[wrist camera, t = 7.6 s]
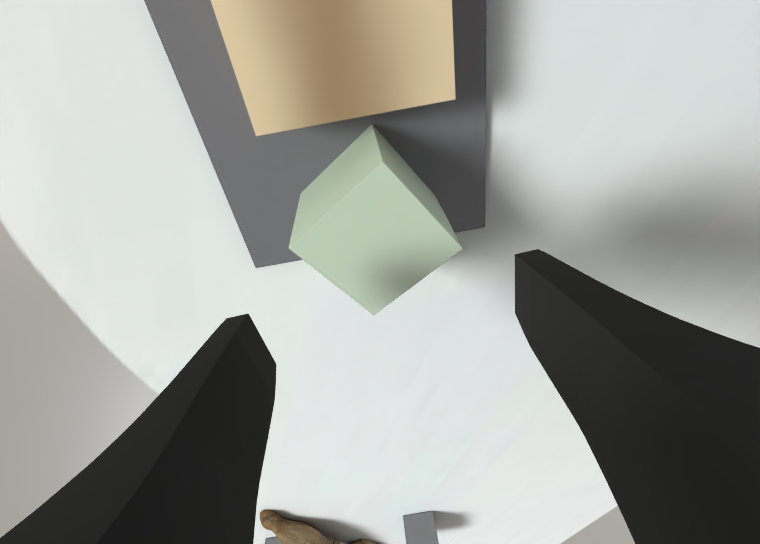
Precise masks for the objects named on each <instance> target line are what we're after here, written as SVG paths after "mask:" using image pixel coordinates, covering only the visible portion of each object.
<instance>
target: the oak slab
mask: <svg viewBox="0 0 760 544" xmlns="http://www.w3.org/2000/svg"><path fill="white" fill-rule="evenodd" d="M211 3H212V6H213V9H214V12H215V15H216V18H217V21H218V24H219V27H220V30H221V33H222V36H223V39H224V42H225V45H226V48H227V51H228V54H229V57H230V60H231V63H232V66H233V69H234V72H235V75H236V78H237V81H238V84H239V87H240V90H241V93H242V96H243V99H244V102H245V105H246V108H247V111H248V114H249V117H250V120H251V123H252V126H253V129H254V132H255V135H256V136H260V135H265V134H271V133H276V132H281V131H287V130H292V129H298V128H303V127H309V126H314V125H319V124H325V123H330V122H336V121H341V120H346V119H352V118H357V117H363V116H368V115H374V114H379V113H384V112H390V111H395V110H401V109H406V108H411V107H417V106H422V105H428V104H433V103H438V102H444V101H449V100H455V99H456V98H455V71H454V44H453V17H452V0H211Z"/></svg>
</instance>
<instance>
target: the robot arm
mask: <svg viewBox="0 0 760 544" xmlns="http://www.w3.org/2000/svg"><path fill="white" fill-rule="evenodd" d="M515 314H516V316H517V318H518V320H519V323H520V325H521V327H522V330H523V332H524V334H525V336H526V338H527V341H528V343H529V345H530V347H531V348H532V350H533V352H534V353H535V355H536V357H537V358H538V360H539V362H540V363H541V365H542V366H543V368H544V370H545V371H546V373H547V375H548V376H549V378H550V379H551V381H552V383H553V384H554V386H555V388H556V389H557V391H558V392H559V394H560V396H561V397H562V399H563V400H564V402H565V404H566V405H567V407H568V408H569V410H570V412H571V413H572V415H573V417H574V418H575V420H576V422H577V423H578V425H579V427H580V429H581V431H582V432H583V434H584V436H585V438H586V440H587V442H588V444H589V446H590V448H591V450H592V452H593V454H594V456H595V458H596V460H597V462H598V464H599V466H600V468H601V470H602V472H603V474H604V477H605V479H606V481H607V483H608V485H609V487H610V489H611V491H612V494H613V496H614V498H615V500H616V502H617V504H618V506H619V508H620V510H621V513H622V515H623V517H624V519H625V521H626V524H627V526H628V528H629V530H630V533H631V535H632V537H633V540H634V542H635V544H760V348H758V347H755V346H752V345H749V344H745V343H742V342H740V341H737V340H734V339H731V338H728V337H725V336H722V335H720V334H717V333H714V332H712V331H709V330H706V329H704V328H701V327H699V326H696V325H693V324H691V323H688V322H686V321H683V320H680V319H678V318H676V317H673V316H671V315H668V314H666V313H664V312H661V311H659V310H657V309H655V308H653V307H650V306H648V305H646V304H644V303H642V302H639V301H637V300H635V299H633V298H631V297H629V296H627V295H625V294H623V293H620V292H618V291H616V290H614V289H612V288H610V287H608V286H606V285H605V284H603V283H601V282H599V281H597V280H595V279H593V278H591V277H589V276H587V275H586V274H584V273H582V272H580V271H578V270H576V269H575V268H573V267H571V266H569V265H567V264H565V263H564V262H562V261H560V260H558V259H556V258H554V257H553V256H551V255H549V254H547V253H545V252H543V251H541V250H539V249H537V250H533V251H528V252H524V253H519V254H515ZM275 385H276V363H275V361H274V359H273V358H272V356H271V354H270V352H269V350H268V348H267V347H266V345H265V343H264V341H263V339H262V338H261V336H260V334H259V332H258V330H257V328H256V327H255V325H254V323H253V321H252V319H251V317H250V316H249V314H245V315H240V316H236V317H231V318H227V319H226V320H225V321H224V322H223V323H222V324H221V325H220V326H219V327H218V328H217V329H216V331H215V332H214V333H213V334H212V335H211V336H210V337H209V339H208V340H207V341H206V342H205V343H204V345H203V346H202V347H201V348H200V349H199V350H198V352H197V353H196V354H195V355H194V356H193V357H192V359H191V360H190V361H189V362H188V363H187V364H186V366H185V367H184V368H183V369H182V370H181V371H180V372H179V374H178V375H177V376H176V377H175V378H174V379H173V381H172V382H171V383H170V384H169V385H168V386H167V387H166V388H165V389H164V390H163V391H162V393H161V394H160V395H159V396H158V397H157V398H156V399H155V400H154V401H153V402H152V403H151V404H150V406H149V407H148V408H147V409H146V410H145V411H144V412H143V413H142V414H141V415H140V416H139V417H138V418H137V419H136V420H135V421H134V423H132V424H131V426H129V427H128V429H126V430H125V432H123V433H122V434H121V435H120V436H119V437H118V438H117V439H116V440H115V441H114V442H113V443H112V444H111V445H110V446H109V447H108V448H107V449H106V450H105V451H103V452H102V453H101V454H100V455H99V456H98V457H97V458H96V459H95V460H94V461H93V462H92V463H91V464H89V465H88V466H87V467H86V468H85V469H84V470H82V471H81V472H80V473H79V474H78V475H77V476H76V477H74V478H73V479H72V480H71V481H70V482H68V483H67V484H66V485H65V486H64V487H63V488H61V489H60V490H59V491H58V492H57V493H56V494H54V495H53V496H52V497H51V498H50V499H49V500H47V501H46V502H45V503H44V504H43V505H41V506H40V507H39V508H38V509H36V510H35V511H34V512H33V513H32V514H30V515H29V516H28V517H26V518H25V519H24V520H23V521H21V522H20V523H19V524H18V525H16V526H15V527H14V528H13V529H11V530H10V531H9V532H8V533H6V534H5V535H4V536H2V537H1V538H0V544H253V538H254V527H255V515H256V504H257V496H258V489H259V482H260V477H261V471H262V466H263V460H264V455H265V450H266V444H267V439H268V434H269V428H270V423H271V417H272V412H273V406H274V400H275Z"/></svg>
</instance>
